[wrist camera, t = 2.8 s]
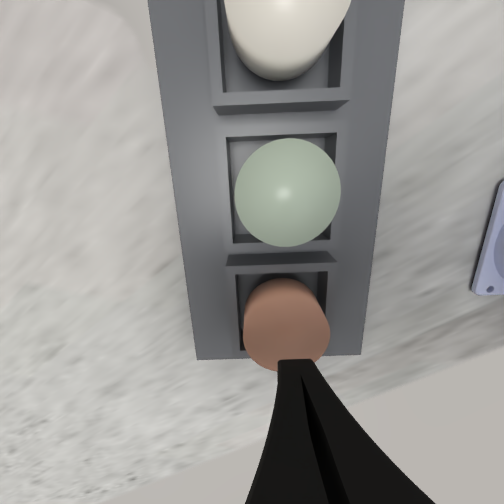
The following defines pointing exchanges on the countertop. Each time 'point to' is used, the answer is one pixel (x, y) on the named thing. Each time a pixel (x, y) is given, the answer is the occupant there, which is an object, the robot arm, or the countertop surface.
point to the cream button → (282, 33)
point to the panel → (255, 136)
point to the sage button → (287, 192)
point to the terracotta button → (284, 323)
